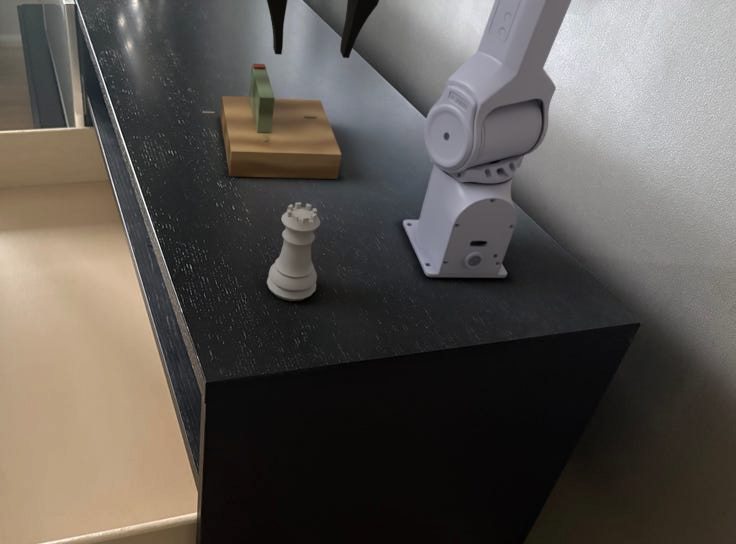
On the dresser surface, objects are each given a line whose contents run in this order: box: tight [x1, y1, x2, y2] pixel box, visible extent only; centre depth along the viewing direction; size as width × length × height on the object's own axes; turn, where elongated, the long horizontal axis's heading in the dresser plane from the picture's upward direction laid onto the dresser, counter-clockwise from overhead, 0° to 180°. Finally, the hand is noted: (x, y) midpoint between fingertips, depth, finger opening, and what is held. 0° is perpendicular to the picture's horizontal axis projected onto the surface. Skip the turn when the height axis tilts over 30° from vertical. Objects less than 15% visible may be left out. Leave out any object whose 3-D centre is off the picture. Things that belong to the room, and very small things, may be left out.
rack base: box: [201, 95, 343, 180], centre depth 87 cm, size 16×15×3 cm
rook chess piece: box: [266, 201, 321, 302], centre depth 65 cm, size 4×4×8 cm
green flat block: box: [248, 63, 276, 133], centre depth 86 cm, size 9×2×4 cm, turn 6°
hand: (311, 52), depth 85 cm, fingers open, 7 cm apart
